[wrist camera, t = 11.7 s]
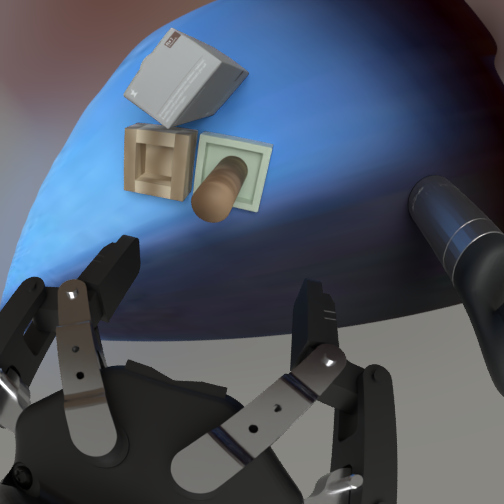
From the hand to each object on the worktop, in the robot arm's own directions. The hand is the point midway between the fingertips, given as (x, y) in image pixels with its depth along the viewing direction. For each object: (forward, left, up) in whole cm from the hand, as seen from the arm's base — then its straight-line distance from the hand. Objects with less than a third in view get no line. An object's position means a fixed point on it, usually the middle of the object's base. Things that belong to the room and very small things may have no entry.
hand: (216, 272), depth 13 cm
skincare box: (+9, -7, -30) cm, 32 cm away
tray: (+4, +6, -30) cm, 31 cm away
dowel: (+4, +6, -30) cm, 30 cm away
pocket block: (+15, +6, -30) cm, 34 cm away
